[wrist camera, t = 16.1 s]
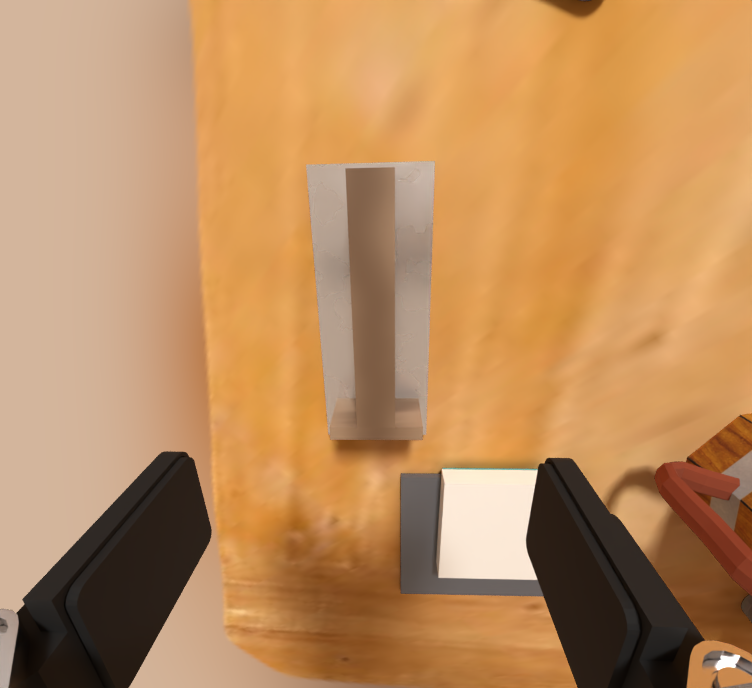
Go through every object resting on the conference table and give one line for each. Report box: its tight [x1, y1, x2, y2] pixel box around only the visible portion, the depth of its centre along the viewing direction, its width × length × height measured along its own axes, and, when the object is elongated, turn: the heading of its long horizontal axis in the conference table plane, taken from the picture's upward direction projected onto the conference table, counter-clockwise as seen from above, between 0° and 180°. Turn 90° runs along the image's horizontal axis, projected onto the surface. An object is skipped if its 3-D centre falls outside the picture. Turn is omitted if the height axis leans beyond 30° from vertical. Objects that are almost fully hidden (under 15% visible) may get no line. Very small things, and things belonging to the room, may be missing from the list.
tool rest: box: [306, 161, 435, 435], centre depth 27 cm, size 8×20×1 cm, turn 1°
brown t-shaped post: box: [329, 167, 423, 440], centre depth 24 cm, size 6×17×4 cm, turn 1°
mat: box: [401, 474, 543, 596], centre depth 35 cm, size 16×15×1 cm
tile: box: [436, 468, 538, 580], centre depth 32 cm, size 9×2×11 cm
